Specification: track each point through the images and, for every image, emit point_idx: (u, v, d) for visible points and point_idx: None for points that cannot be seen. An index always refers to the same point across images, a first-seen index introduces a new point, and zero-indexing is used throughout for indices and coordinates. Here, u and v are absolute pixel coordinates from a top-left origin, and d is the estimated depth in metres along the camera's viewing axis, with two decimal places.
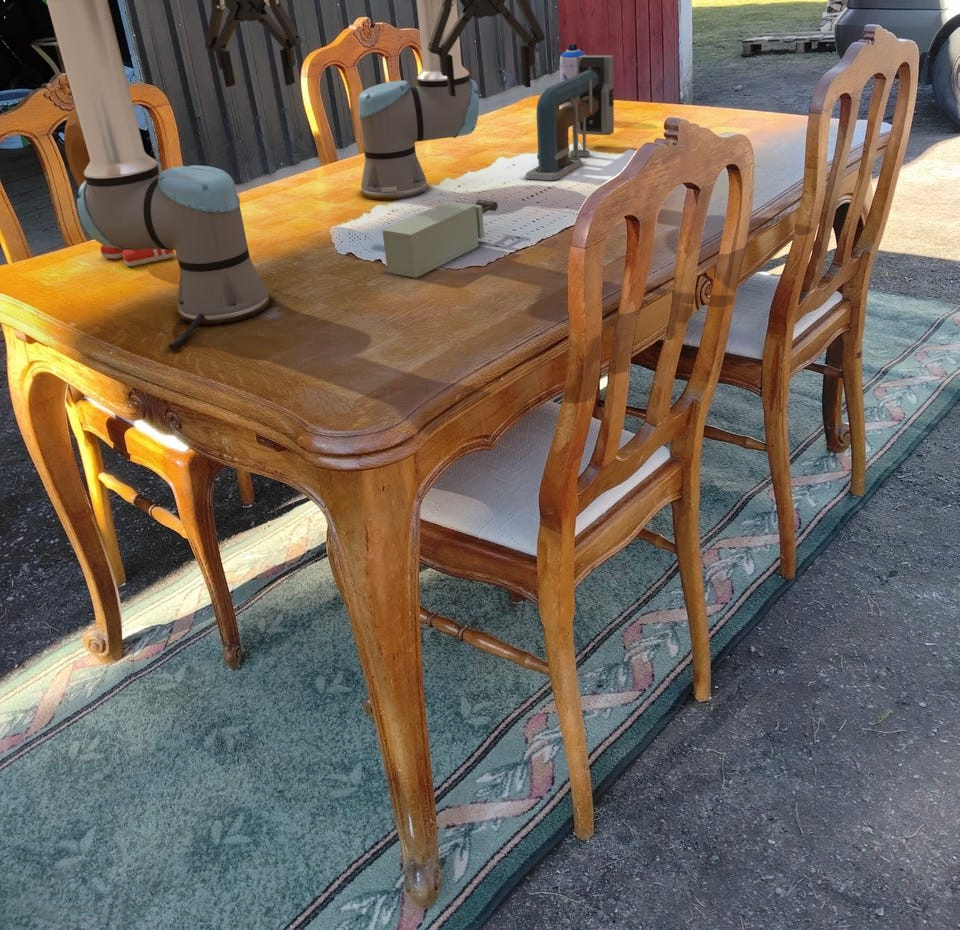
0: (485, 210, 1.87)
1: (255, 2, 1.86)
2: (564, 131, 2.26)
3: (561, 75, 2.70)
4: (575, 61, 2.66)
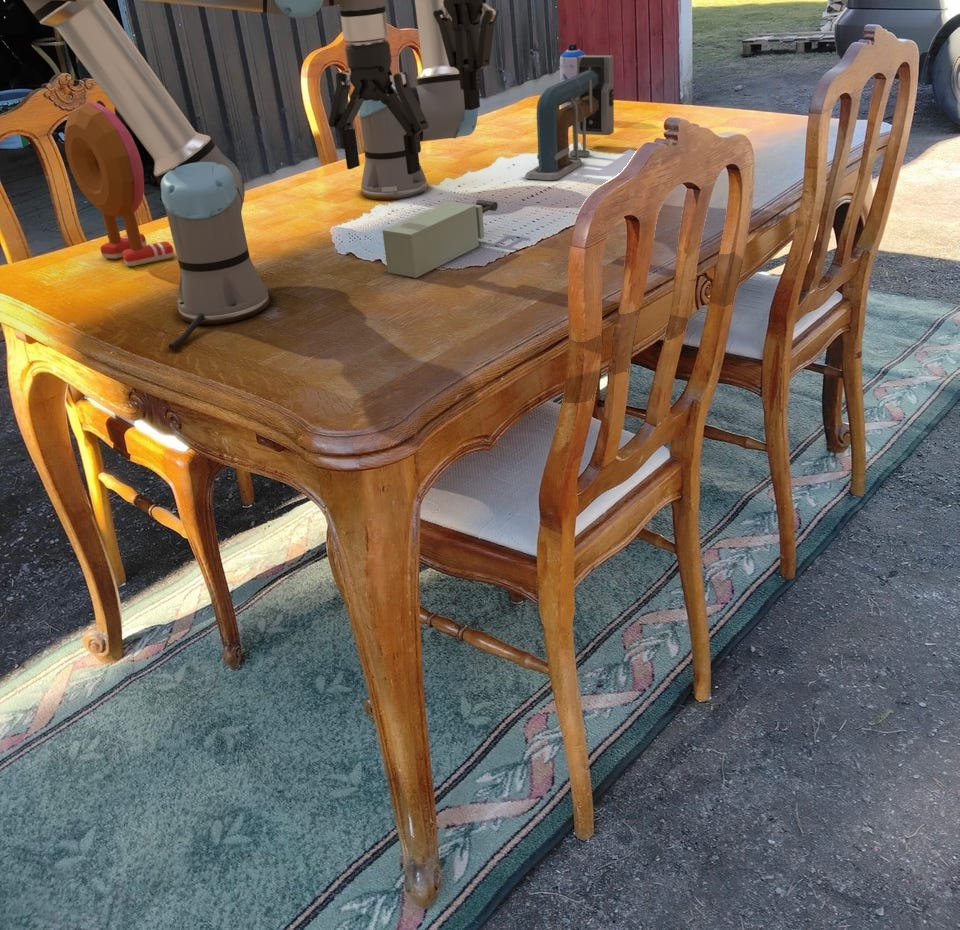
0: (485, 210, 1.87)
1: (380, 81, 1.63)
2: (564, 131, 2.26)
3: (561, 75, 2.70)
4: (575, 61, 2.66)
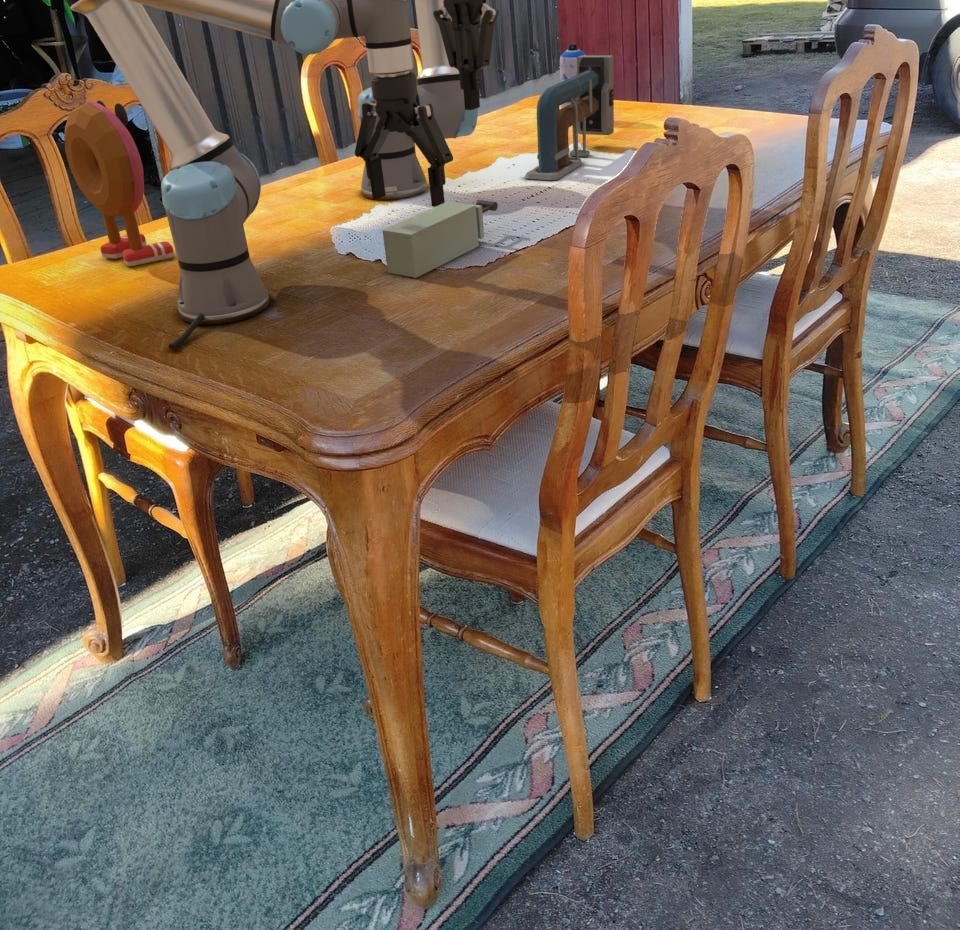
0: (485, 210, 1.87)
1: (405, 113, 1.60)
2: (564, 131, 2.26)
3: (561, 75, 2.70)
4: (575, 61, 2.66)
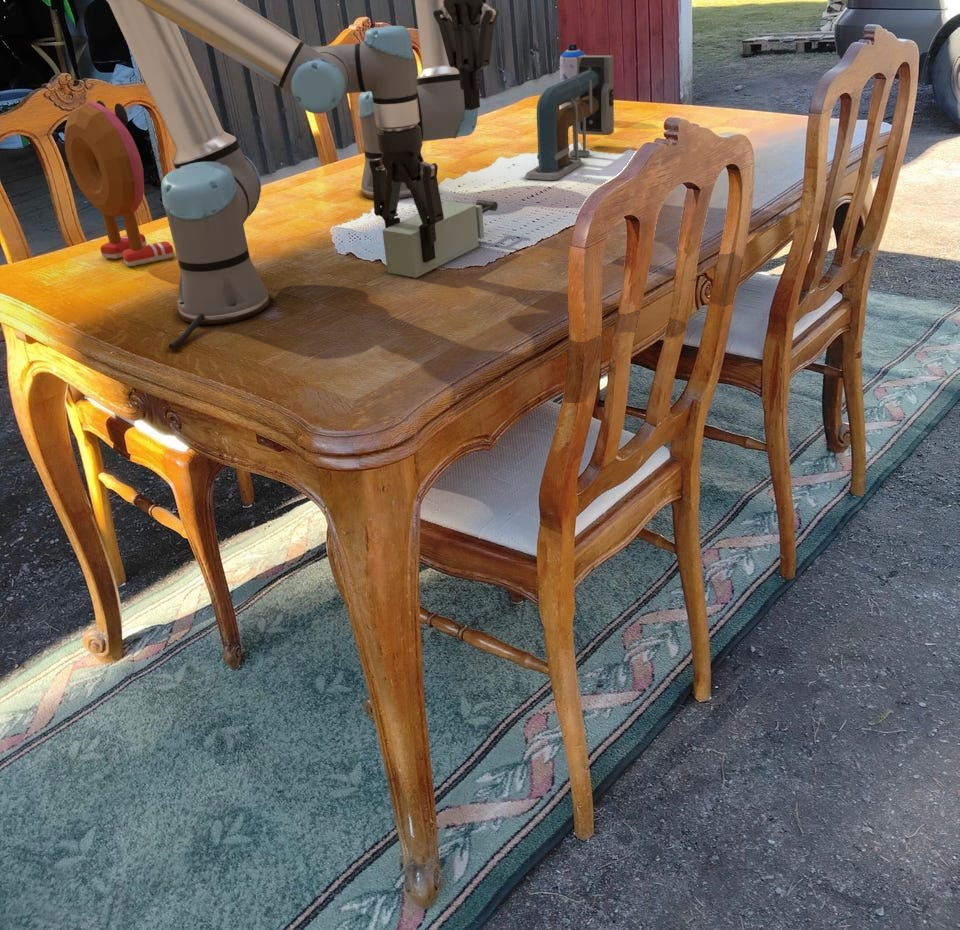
0: (485, 210, 1.87)
1: (410, 165, 1.65)
2: (564, 131, 2.26)
3: (561, 75, 2.70)
4: (575, 61, 2.66)
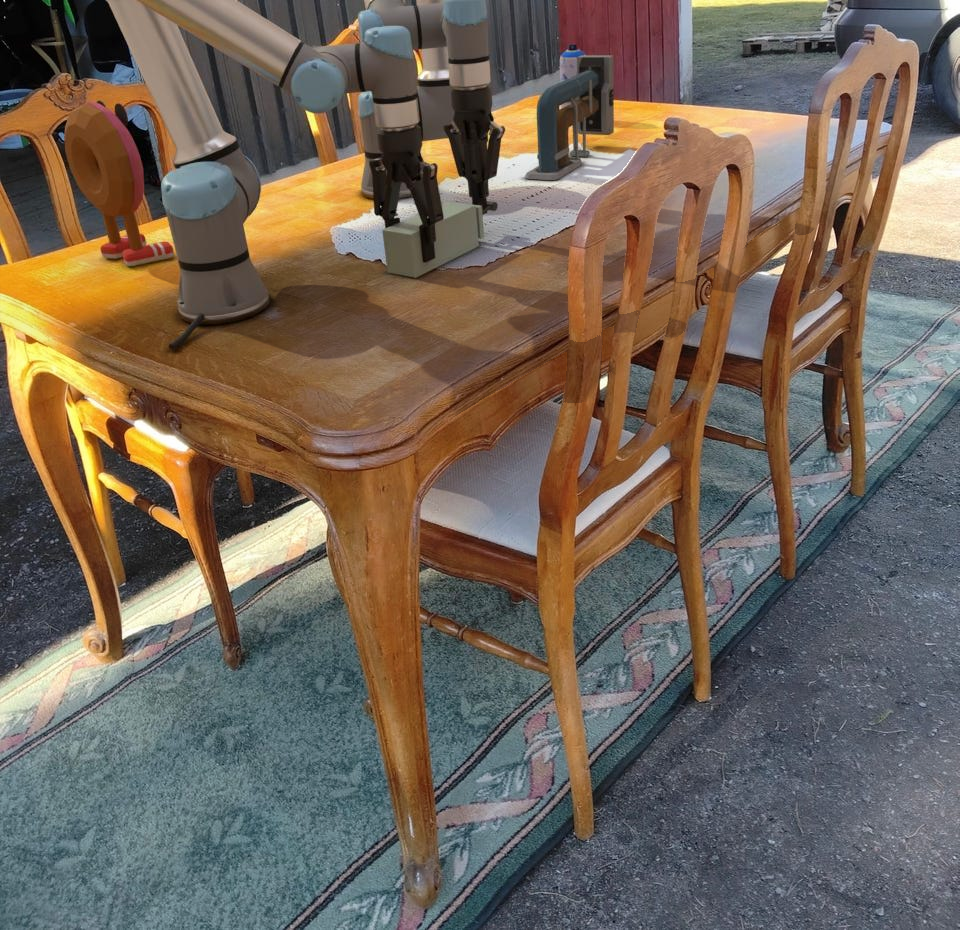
0: (485, 210, 1.87)
1: (410, 165, 1.65)
2: (564, 131, 2.26)
3: (561, 75, 2.70)
4: (575, 61, 2.66)
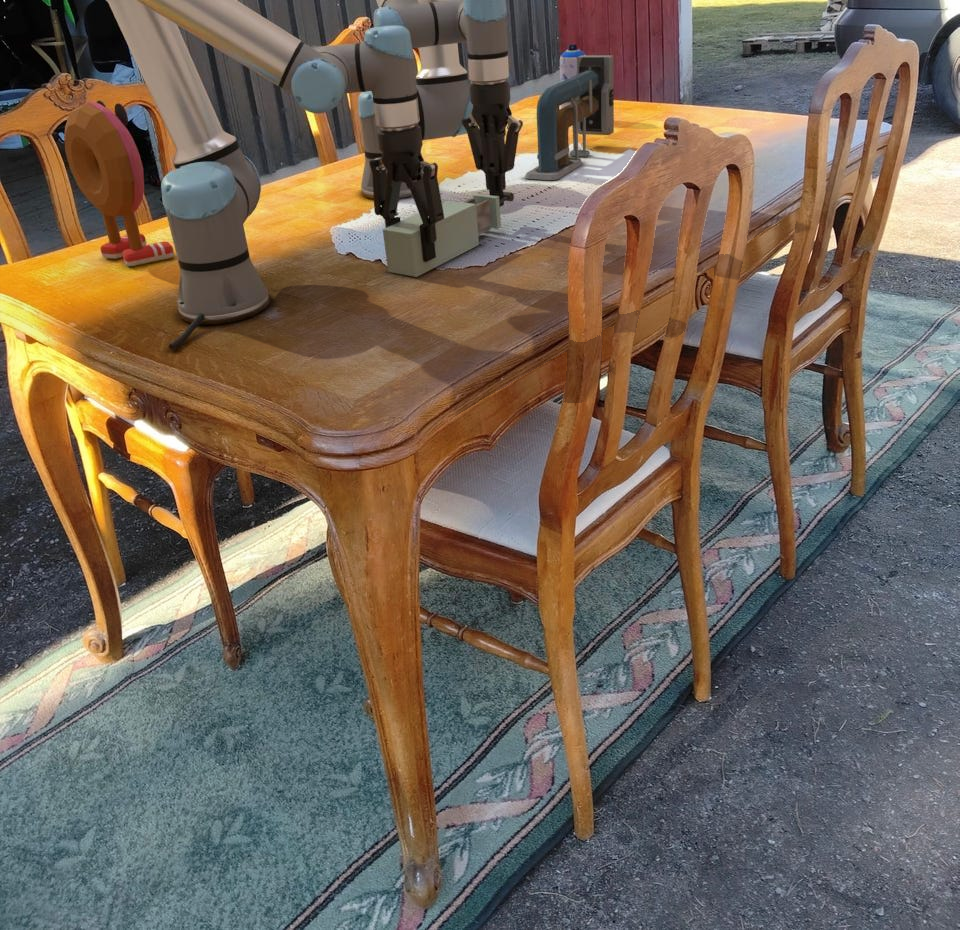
0: (502, 201, 1.91)
1: (411, 165, 1.65)
2: (564, 131, 2.26)
3: (561, 75, 2.70)
4: (575, 61, 2.66)
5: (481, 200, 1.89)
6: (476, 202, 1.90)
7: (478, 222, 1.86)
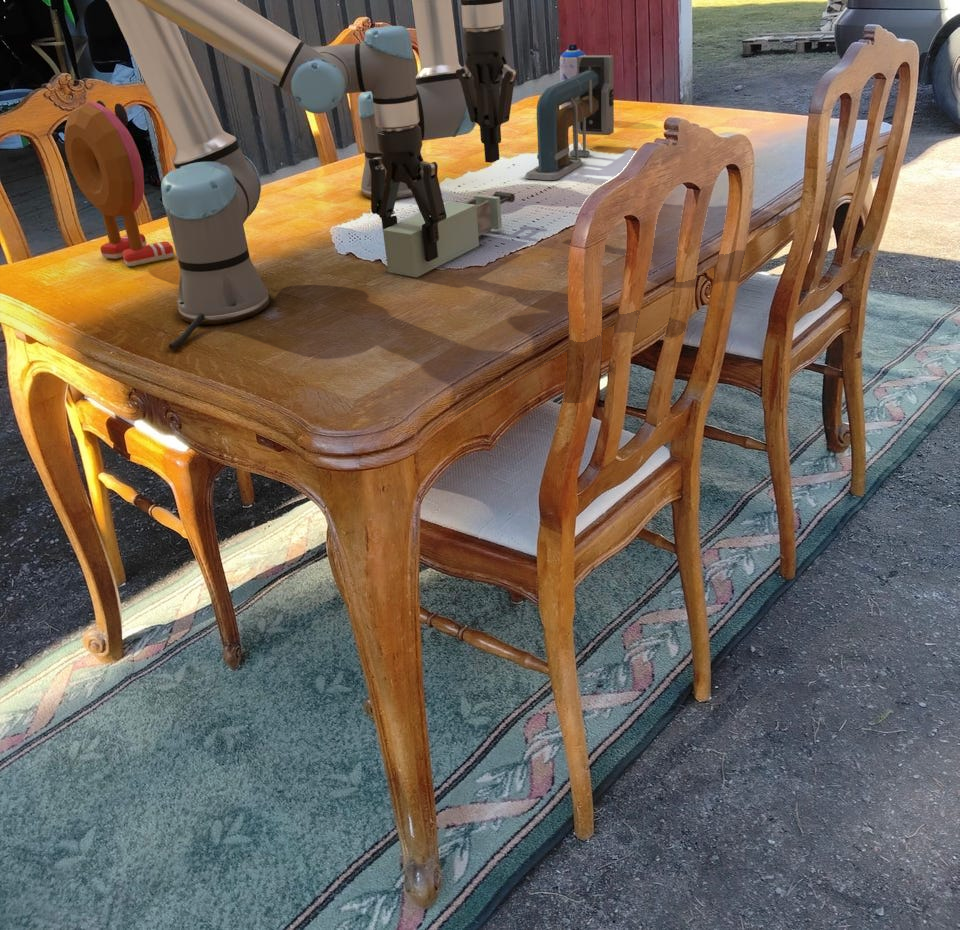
0: (503, 201, 1.91)
1: (410, 165, 1.65)
2: (564, 131, 2.26)
3: (561, 75, 2.70)
4: (575, 61, 2.66)
5: (482, 201, 1.90)
6: (477, 203, 1.91)
7: (479, 223, 1.86)
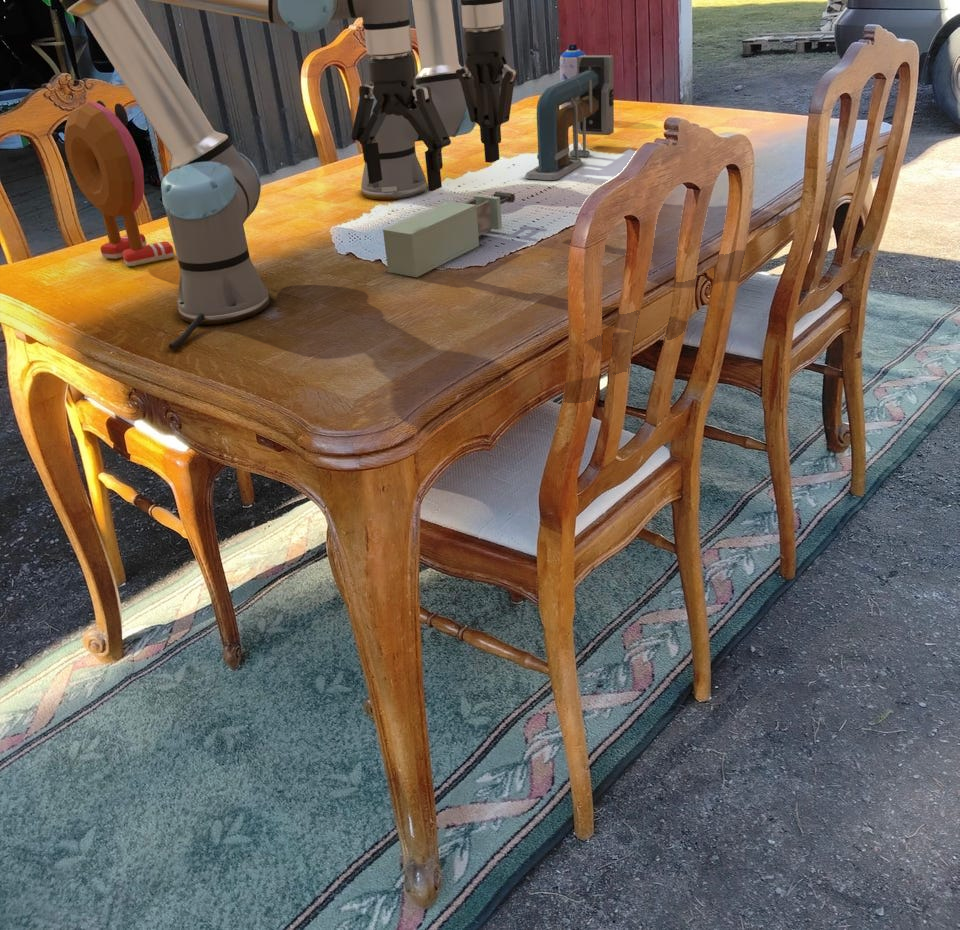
0: (503, 202, 1.91)
1: (403, 95, 1.59)
2: (564, 131, 2.26)
3: (561, 75, 2.70)
4: (575, 61, 2.66)
5: (482, 201, 1.90)
6: (477, 203, 1.91)
7: (479, 223, 1.86)
